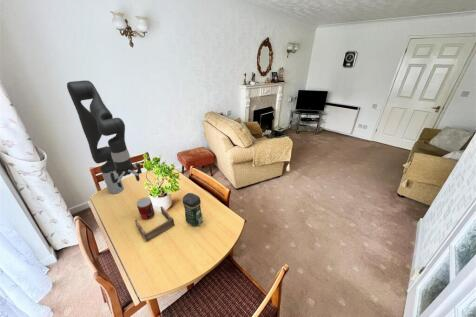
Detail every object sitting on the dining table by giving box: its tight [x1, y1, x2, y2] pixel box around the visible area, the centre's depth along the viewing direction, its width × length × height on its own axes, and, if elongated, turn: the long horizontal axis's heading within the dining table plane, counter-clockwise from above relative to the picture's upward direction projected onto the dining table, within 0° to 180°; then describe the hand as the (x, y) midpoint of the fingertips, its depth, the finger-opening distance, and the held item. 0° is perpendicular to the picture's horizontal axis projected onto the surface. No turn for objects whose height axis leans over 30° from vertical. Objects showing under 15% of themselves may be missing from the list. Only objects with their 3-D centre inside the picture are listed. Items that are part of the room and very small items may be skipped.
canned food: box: [136, 197, 155, 221], centre depth 116 cm, size 8×8×11 cm
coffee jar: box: [182, 192, 204, 227], centre depth 111 cm, size 10×8×19 cm
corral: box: [134, 206, 175, 243], centre depth 111 cm, size 14×16×5 cm
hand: (129, 183), depth 106 cm, fingers open, 8 cm apart
